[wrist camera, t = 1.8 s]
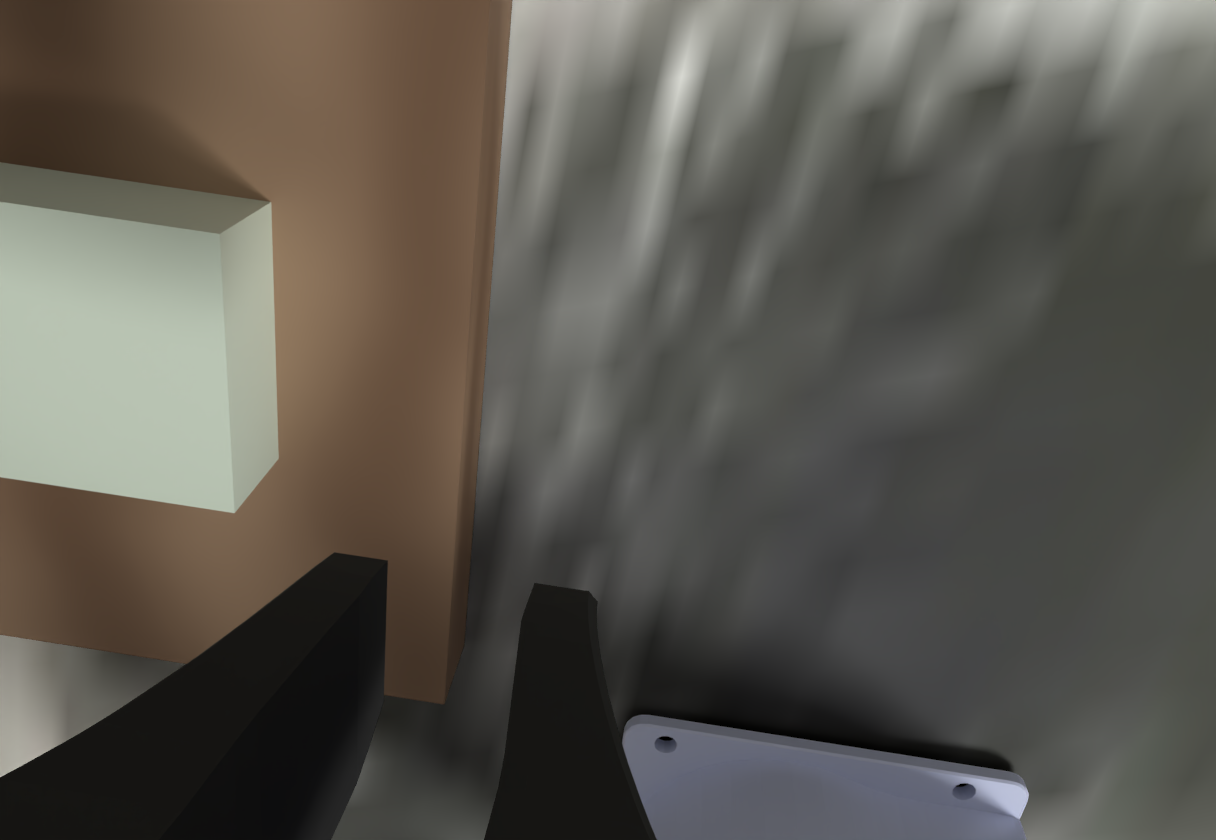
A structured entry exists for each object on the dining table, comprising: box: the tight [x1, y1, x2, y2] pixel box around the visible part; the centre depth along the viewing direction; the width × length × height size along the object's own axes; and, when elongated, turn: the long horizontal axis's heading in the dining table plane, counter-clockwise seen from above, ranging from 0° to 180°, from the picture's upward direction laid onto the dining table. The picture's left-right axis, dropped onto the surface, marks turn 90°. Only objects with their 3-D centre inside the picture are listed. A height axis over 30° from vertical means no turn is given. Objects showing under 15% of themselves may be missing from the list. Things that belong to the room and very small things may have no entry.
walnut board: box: [0, 0, 512, 704], centre depth 19 cm, size 14×16×2 cm
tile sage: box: [0, 162, 279, 513], centre depth 17 cm, size 5×5×2 cm
